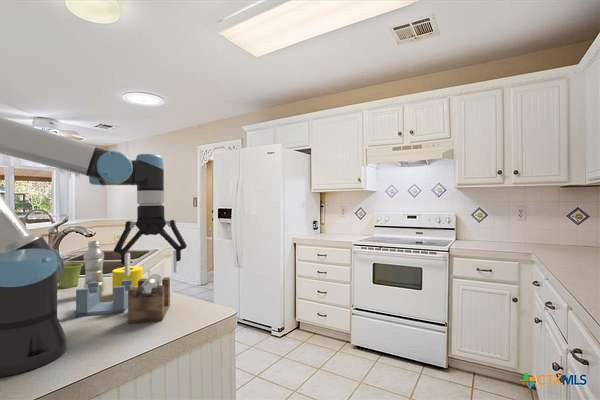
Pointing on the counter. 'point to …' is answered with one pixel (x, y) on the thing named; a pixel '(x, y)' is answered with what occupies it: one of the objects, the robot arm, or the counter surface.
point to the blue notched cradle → (90, 302)
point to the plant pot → (70, 275)
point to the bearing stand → (149, 303)
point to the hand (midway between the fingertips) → (152, 273)
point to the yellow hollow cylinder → (135, 276)
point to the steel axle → (149, 285)
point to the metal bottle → (94, 265)
